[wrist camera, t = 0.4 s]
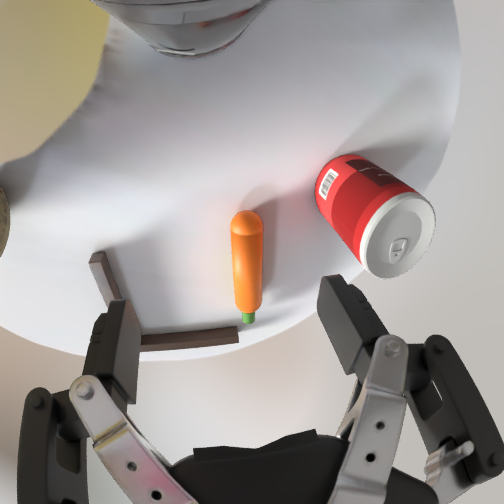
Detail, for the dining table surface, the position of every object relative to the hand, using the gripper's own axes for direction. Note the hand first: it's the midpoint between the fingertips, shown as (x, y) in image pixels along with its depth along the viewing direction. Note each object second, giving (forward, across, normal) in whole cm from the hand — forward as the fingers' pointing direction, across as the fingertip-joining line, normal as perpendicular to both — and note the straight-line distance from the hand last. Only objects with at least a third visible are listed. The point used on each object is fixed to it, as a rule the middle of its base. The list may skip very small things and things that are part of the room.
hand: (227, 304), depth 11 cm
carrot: (+17, -3, +10) cm, 20 cm away
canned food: (+18, -14, +2) cm, 23 cm away
